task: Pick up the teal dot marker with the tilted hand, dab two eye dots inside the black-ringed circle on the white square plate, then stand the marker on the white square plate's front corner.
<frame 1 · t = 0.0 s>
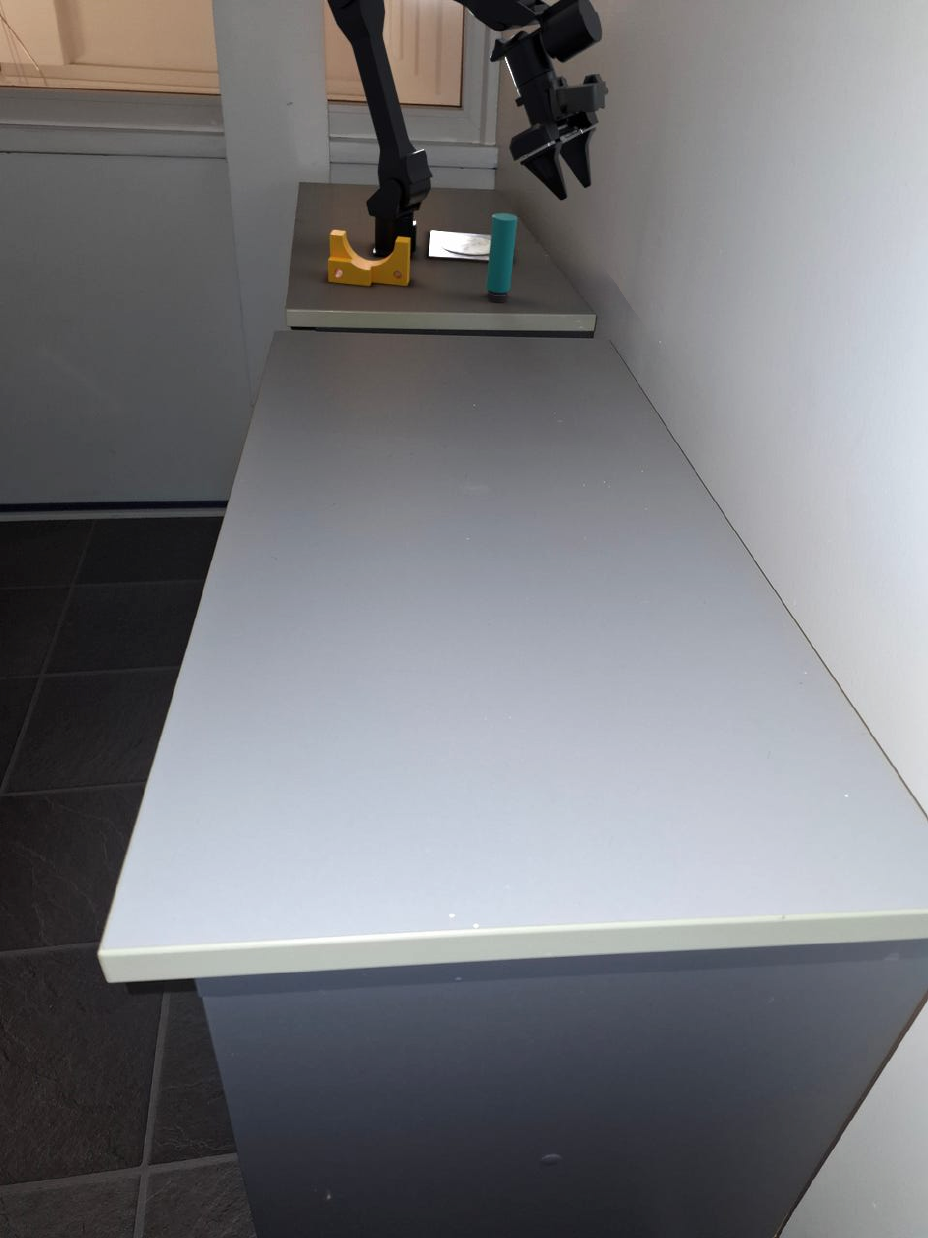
hand: (576, 192, 126), 15 cm above the table, tool tilted 35°, fingers open, 9 cm apart
pipe clamp: (369, 282, 134), on the table
dot marker: (497, 299, 132), on the table
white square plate: (469, 247, 150), on the table
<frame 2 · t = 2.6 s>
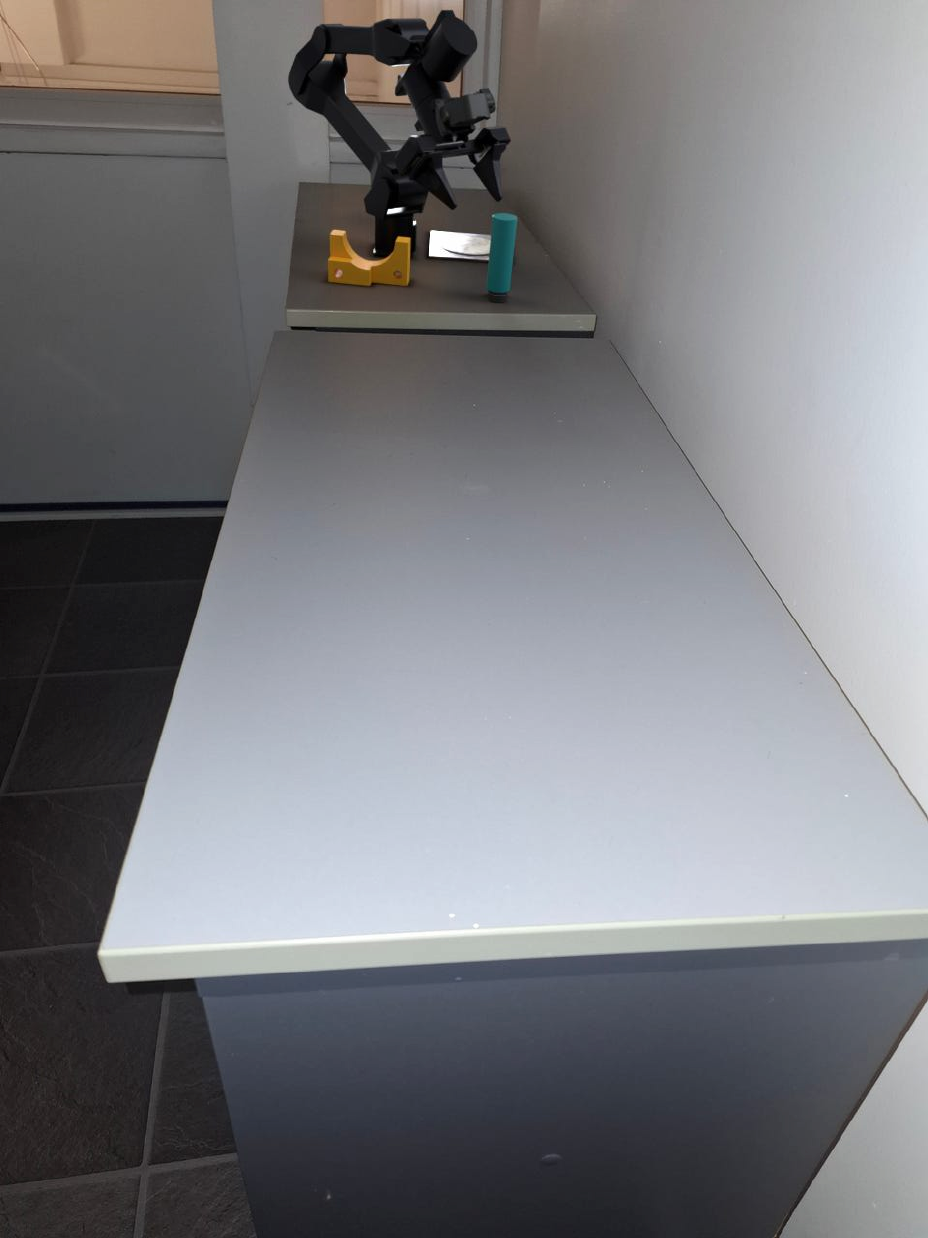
hand: (477, 204, 127), 12 cm above the table, tool tilted 45°, fingers open, 9 cm apart
nothing on the table moved.
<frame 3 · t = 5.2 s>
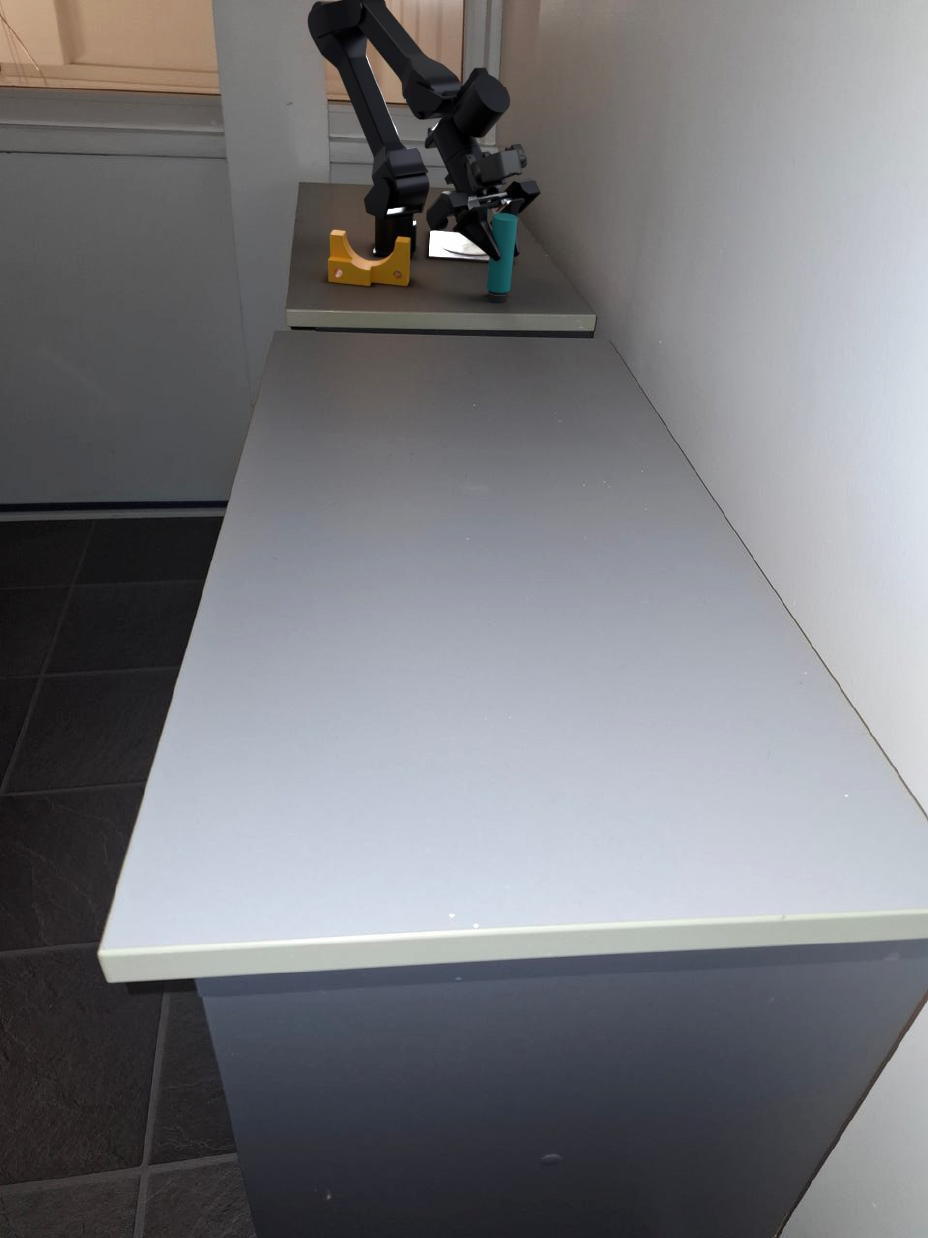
hand: (507, 257, 127), 7 cm above the table, tool tilted 45°, fingers closed on dot marker, 3 cm apart
dot marker: (497, 299, 132), on the table, touching gripper
everything else where it was.
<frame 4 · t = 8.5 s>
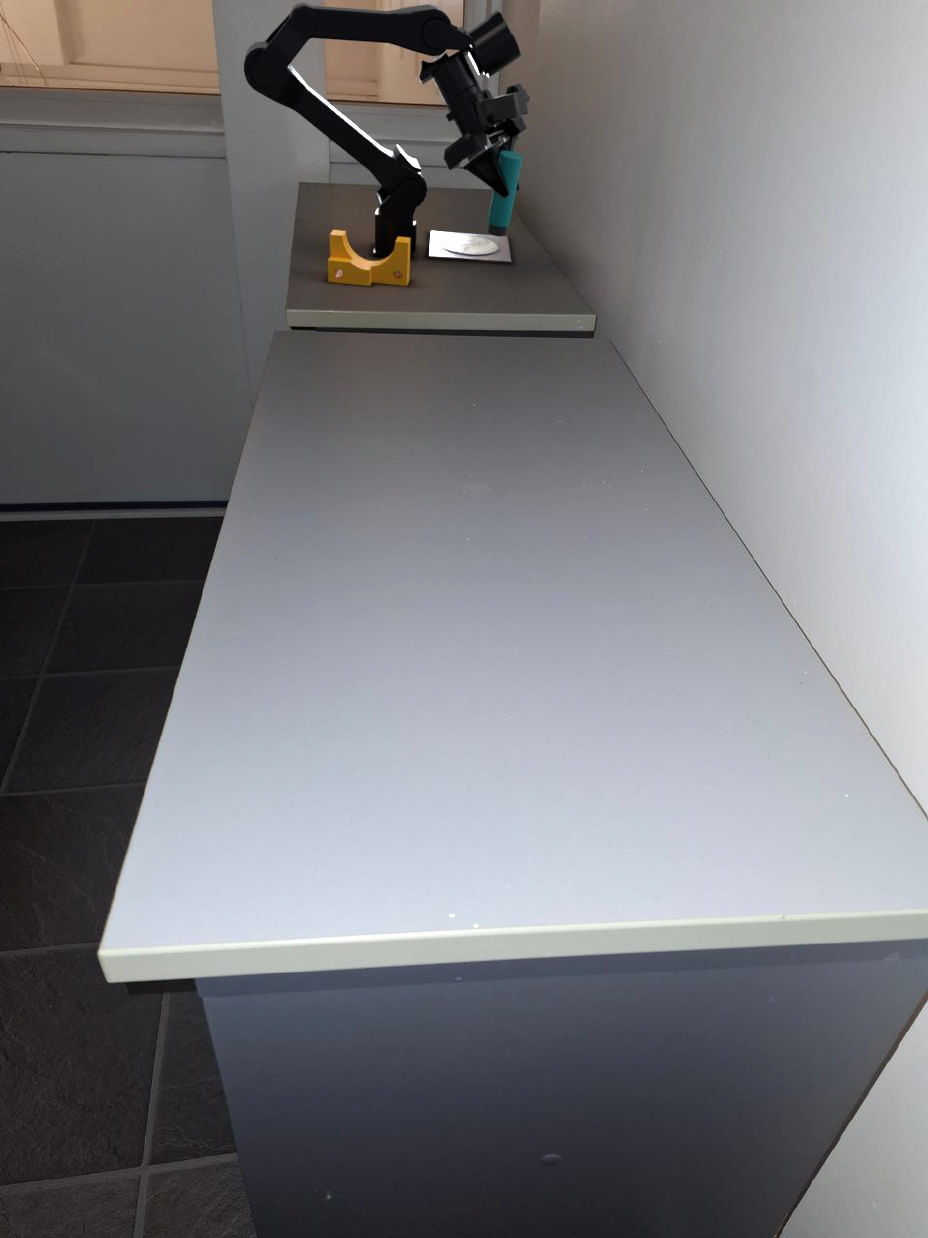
hand: (512, 193, 136), 11 cm above the table, tool tilted 40°, fingers closed on dot marker, 3 cm apart
dot marker: (496, 232, 141), point 5 cm above the table, tilted 7°, touching gripper
everything else where it was.
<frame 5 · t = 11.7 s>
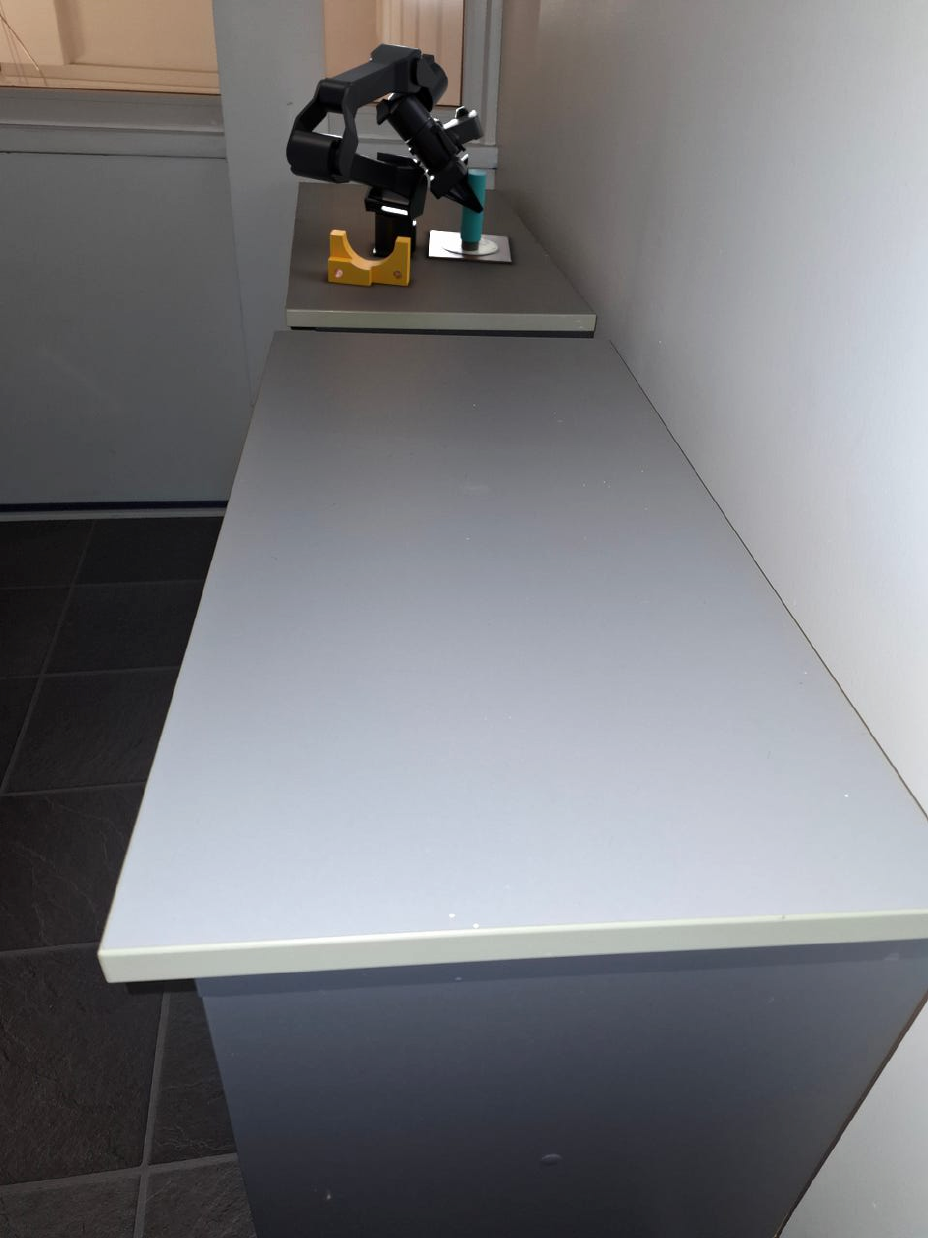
hand: (481, 208, 144), 7 cm above the table, tool tilted 45°, fingers closed on dot marker, 3 cm apart
dot marker: (469, 248, 148), point 1 cm above the table, touching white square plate, gripper
everything else where it was.
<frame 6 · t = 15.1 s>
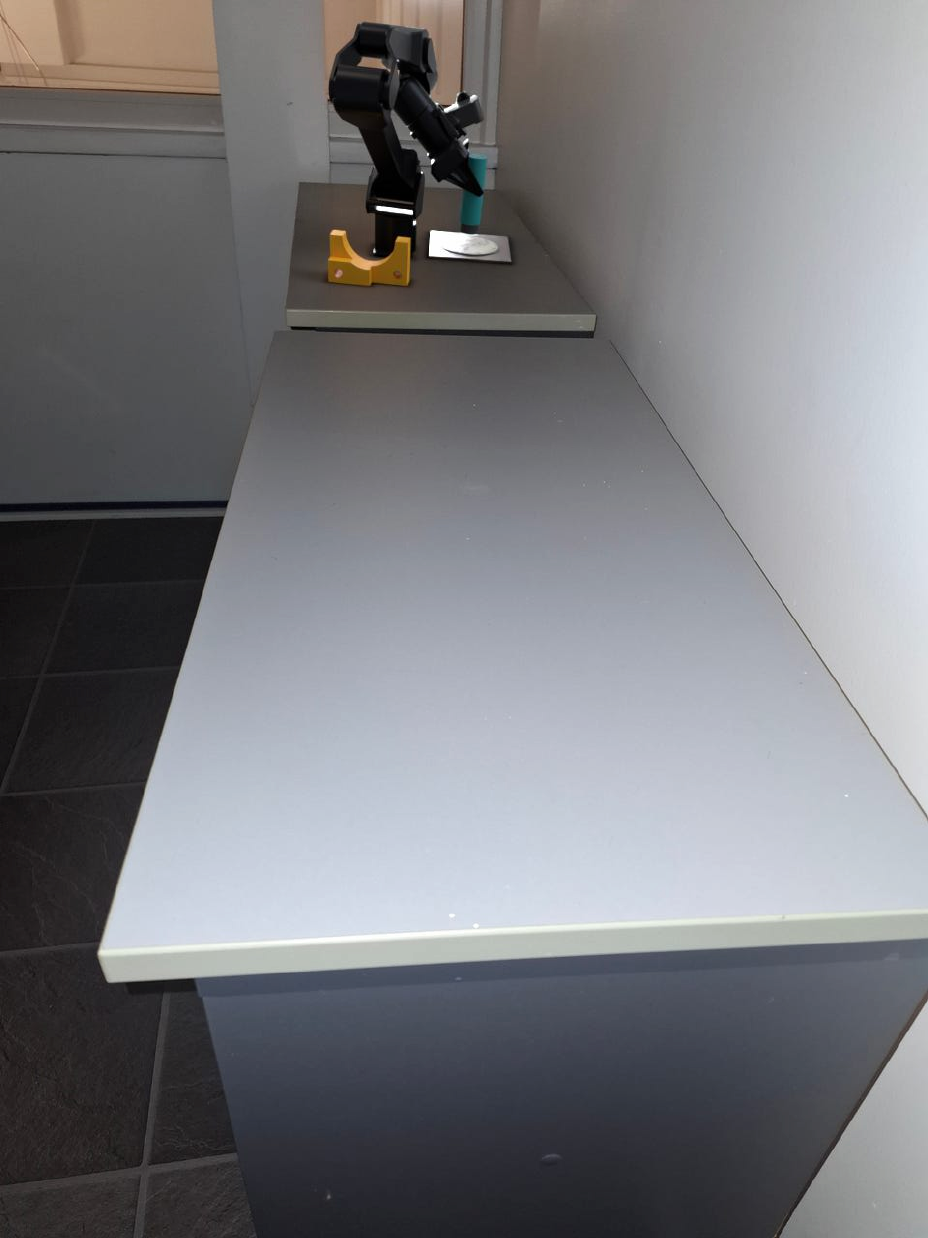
hand: (481, 191, 146), 9 cm above the table, tool tilted 45°, fingers closed on dot marker, 3 cm apart
dot marker: (468, 231, 150), point 2 cm above the table, touching gripper
everything else where it was.
when the fingers open (7 cm above the table, at t = 18.0 s): dot marker stays where it is, resting on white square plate.
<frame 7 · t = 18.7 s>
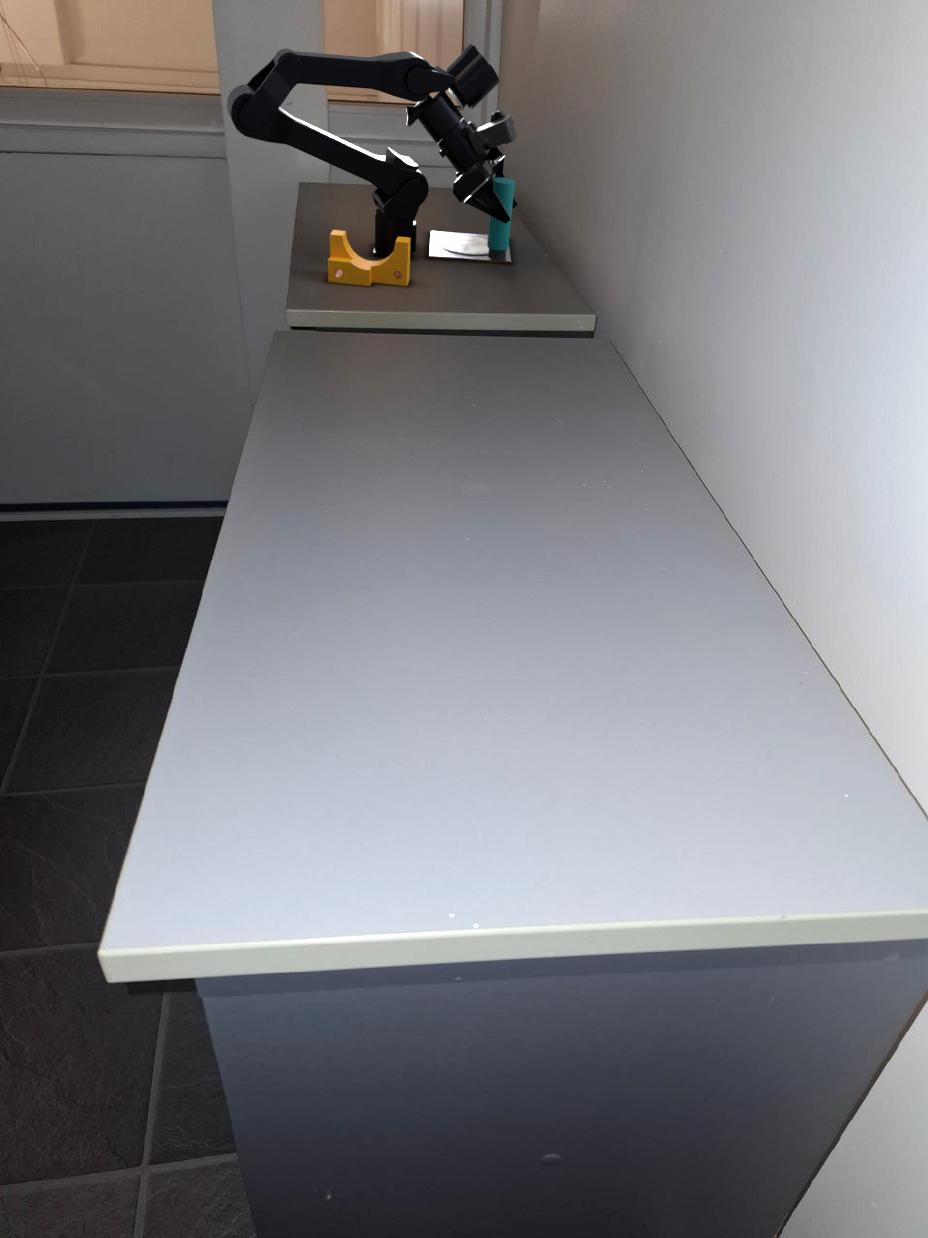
hand: (512, 213, 141), 7 cm above the table, tool tilted 45°, fingers open, 9 cm apart
dot marker: (496, 256, 146), resting on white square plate
everything else where it was.
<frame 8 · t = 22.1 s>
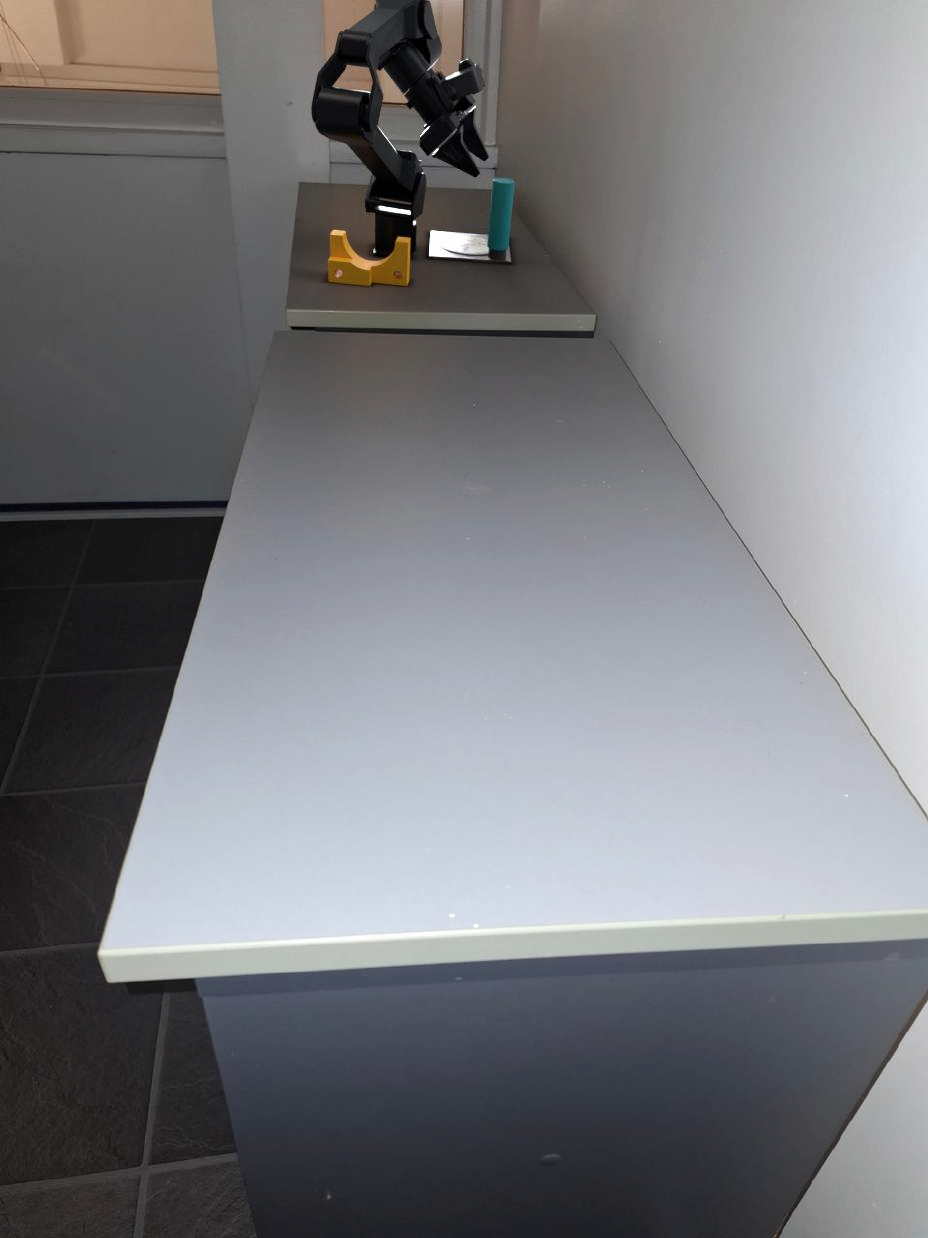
hand: (482, 167, 139), 14 cm above the table, tool tilted 45°, fingers open, 9 cm apart
nothing on the table moved.
at the end: dot marker moved 19.0 cm from its start; dot marker 0.3 cm from the target spot on the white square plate, point 0.4 cm above the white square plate's base; dot marker tilted 0° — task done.
